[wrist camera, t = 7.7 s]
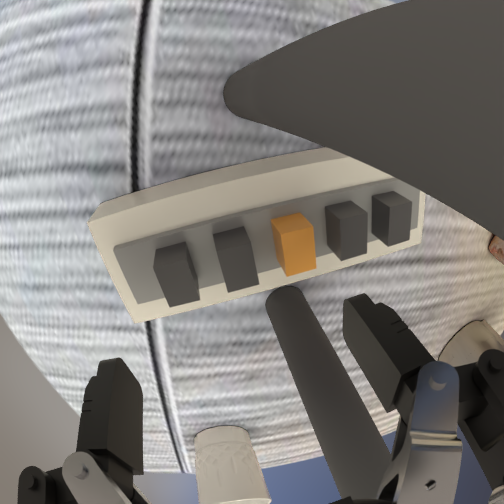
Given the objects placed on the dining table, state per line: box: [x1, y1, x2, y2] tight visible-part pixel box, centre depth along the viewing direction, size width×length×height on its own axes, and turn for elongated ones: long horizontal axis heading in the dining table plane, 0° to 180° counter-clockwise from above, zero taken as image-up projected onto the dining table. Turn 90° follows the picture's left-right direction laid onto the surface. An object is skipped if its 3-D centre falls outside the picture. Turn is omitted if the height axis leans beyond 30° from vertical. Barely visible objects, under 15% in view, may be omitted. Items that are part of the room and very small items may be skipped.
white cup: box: [194, 426, 271, 504], centre depth 27 cm, size 8×8×10 cm
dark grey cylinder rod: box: [266, 286, 391, 500], centre depth 16 cm, size 3×3×16 cm
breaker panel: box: [87, 147, 425, 323], centre depth 17 cm, size 20×7×5 cm, turn 101°
